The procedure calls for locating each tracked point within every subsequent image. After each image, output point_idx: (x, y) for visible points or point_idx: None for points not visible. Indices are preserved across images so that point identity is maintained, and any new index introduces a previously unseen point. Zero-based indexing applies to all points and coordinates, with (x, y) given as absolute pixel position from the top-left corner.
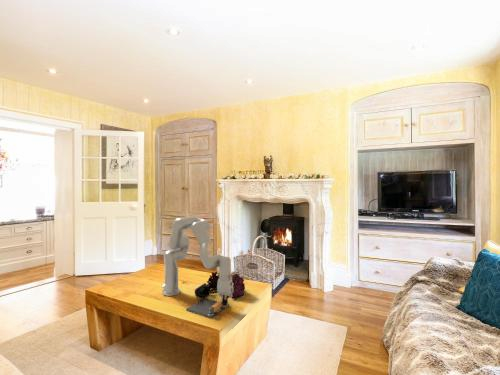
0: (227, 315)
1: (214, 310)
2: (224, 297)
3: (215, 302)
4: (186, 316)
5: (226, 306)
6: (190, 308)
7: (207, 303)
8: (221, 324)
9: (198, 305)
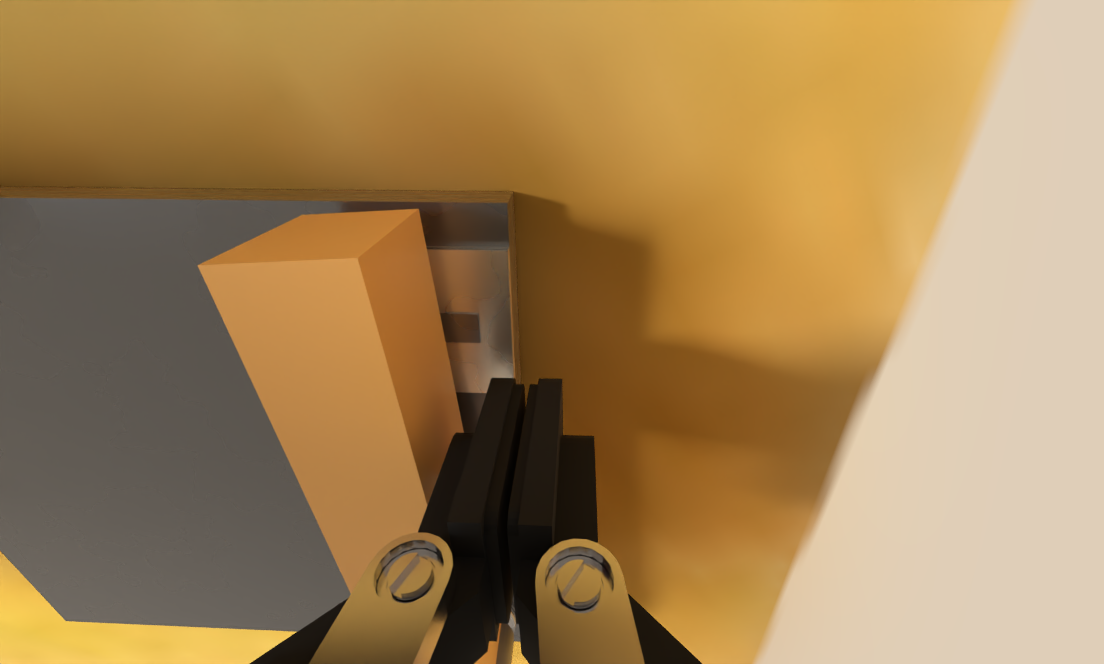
0: (695, 492)
1: (495, 646)
2: (463, 628)
3: (153, 280)
4: (240, 660)
5: (514, 290)
6: (96, 605)
7: (85, 399)
8: (716, 648)
9: (66, 512)
